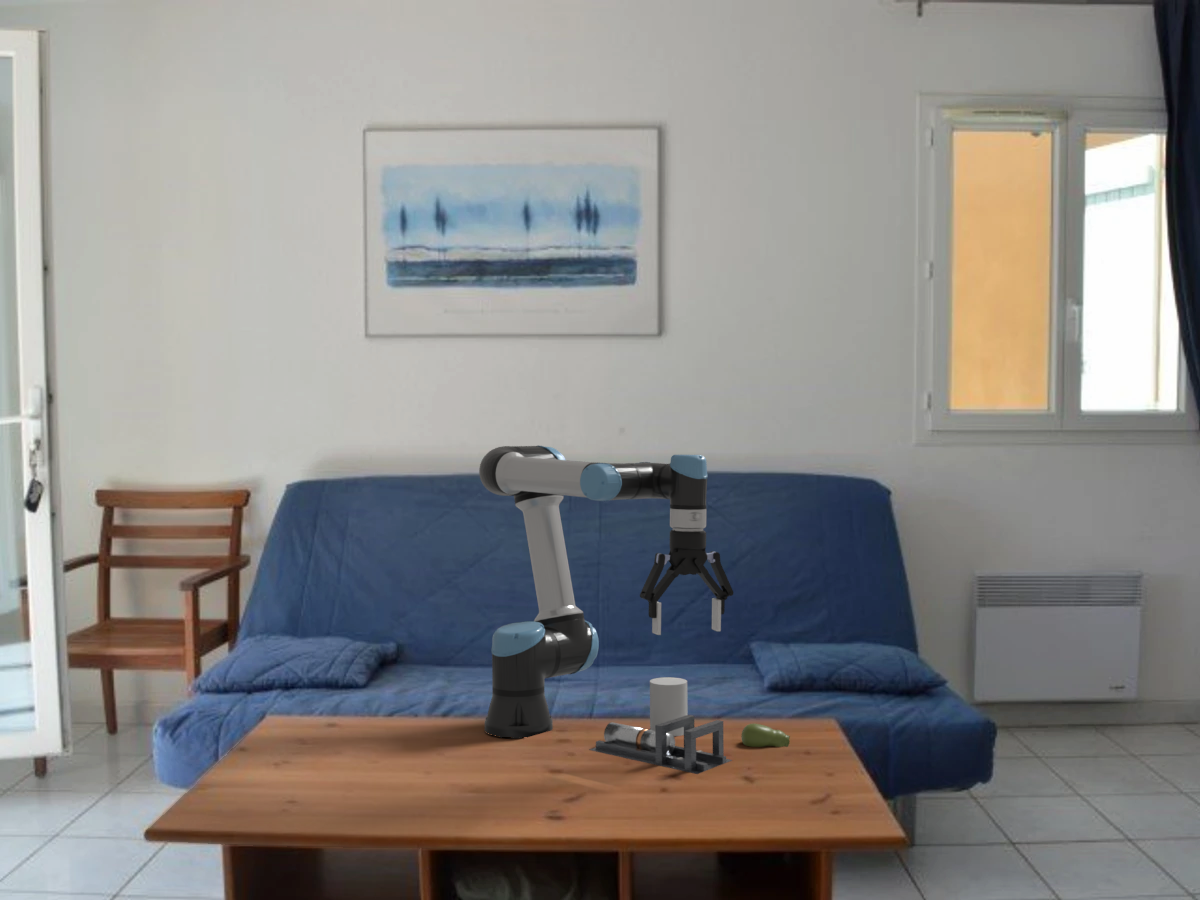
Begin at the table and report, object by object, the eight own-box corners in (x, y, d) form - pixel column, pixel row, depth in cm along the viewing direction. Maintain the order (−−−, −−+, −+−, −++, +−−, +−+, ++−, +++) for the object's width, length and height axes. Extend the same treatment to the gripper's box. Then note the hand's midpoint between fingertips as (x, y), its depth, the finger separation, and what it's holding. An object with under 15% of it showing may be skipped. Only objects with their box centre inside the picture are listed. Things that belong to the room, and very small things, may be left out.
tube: (602, 743, 226) (605, 722, 227) (616, 743, 229) (618, 722, 230) (660, 756, 216) (663, 733, 217) (673, 756, 220) (676, 733, 220)
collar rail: (588, 754, 223) (588, 712, 223) (625, 742, 233) (625, 702, 233) (697, 779, 206) (697, 734, 206) (732, 765, 215) (732, 722, 215)
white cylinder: (687, 731, 241) (687, 677, 241) (687, 741, 233) (686, 685, 233) (651, 731, 242) (650, 677, 242) (649, 740, 234) (648, 684, 234)
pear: (742, 718, 230) (789, 726, 230) (738, 743, 230) (785, 751, 230) (745, 725, 224) (793, 733, 224) (741, 750, 224) (789, 758, 224)
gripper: (639, 532, 217) (638, 638, 217) (750, 529, 226) (748, 631, 226) (625, 528, 224) (623, 632, 224) (733, 526, 233) (731, 625, 233)
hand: (686, 632), depth 225 cm, fingers open, 13 cm apart
